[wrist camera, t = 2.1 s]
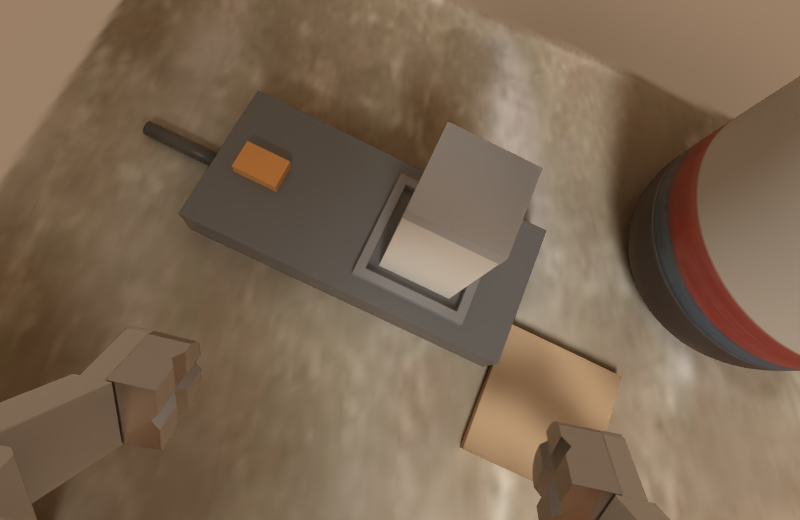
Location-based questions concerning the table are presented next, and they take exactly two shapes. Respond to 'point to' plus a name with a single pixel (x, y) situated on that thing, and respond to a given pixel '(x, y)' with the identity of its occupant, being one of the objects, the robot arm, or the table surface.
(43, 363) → the table surface
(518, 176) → the block
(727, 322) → the vase
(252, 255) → the power strip
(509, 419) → the coaster
